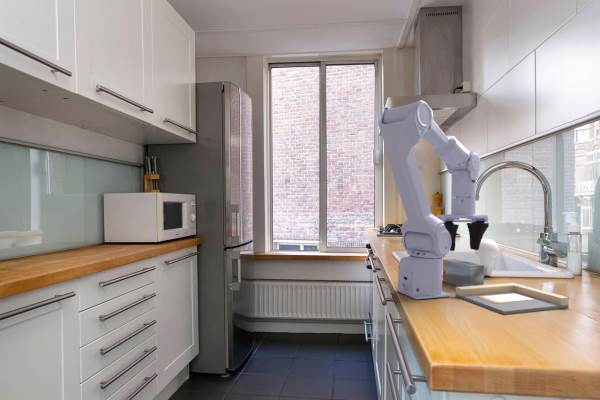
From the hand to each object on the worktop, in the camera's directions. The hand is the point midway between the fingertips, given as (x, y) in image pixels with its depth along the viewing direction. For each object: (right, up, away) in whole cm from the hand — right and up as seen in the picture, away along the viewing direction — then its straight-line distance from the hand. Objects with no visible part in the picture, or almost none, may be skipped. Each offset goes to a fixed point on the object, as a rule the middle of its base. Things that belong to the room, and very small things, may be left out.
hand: (462, 250), depth 90 cm
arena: (+3, -9, -15) cm, 18 cm away
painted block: (0, -9, 0) cm, 9 cm away
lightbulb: (+12, -10, +11) cm, 19 cm away
